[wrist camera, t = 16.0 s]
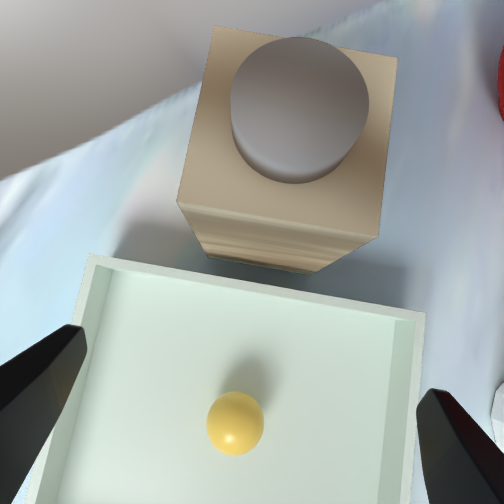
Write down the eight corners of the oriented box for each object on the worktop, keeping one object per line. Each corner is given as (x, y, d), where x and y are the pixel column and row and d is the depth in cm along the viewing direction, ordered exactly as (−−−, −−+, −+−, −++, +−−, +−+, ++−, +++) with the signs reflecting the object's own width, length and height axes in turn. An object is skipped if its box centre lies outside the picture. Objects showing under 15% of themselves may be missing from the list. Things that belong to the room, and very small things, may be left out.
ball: (254, 376, 20) (248, 421, 21) (202, 383, 19) (197, 430, 20) (277, 412, 17) (269, 463, 18) (218, 423, 16) (212, 476, 17)
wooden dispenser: (310, 275, 22) (399, 224, 10) (208, 257, 22) (166, 183, 10) (324, 178, 23) (419, 22, 11) (226, 161, 23) (211, -15, 11)
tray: (371, 615, 19) (395, 670, 16) (36, 556, 19) (-2, 601, 16) (400, 313, 22) (426, 312, 19) (109, 261, 22) (89, 253, 19)
